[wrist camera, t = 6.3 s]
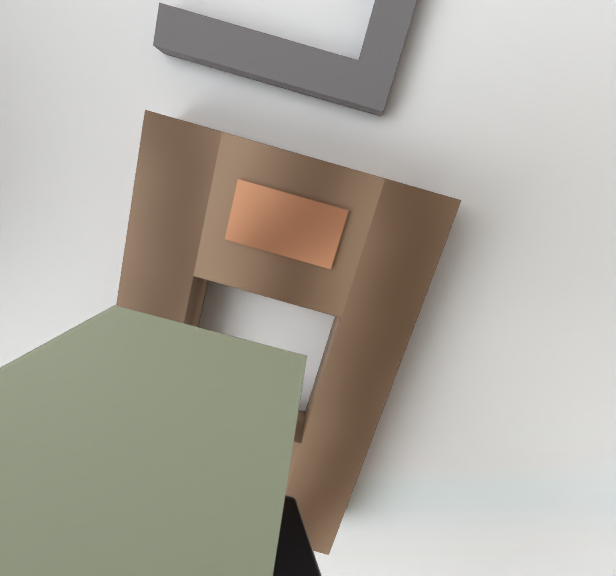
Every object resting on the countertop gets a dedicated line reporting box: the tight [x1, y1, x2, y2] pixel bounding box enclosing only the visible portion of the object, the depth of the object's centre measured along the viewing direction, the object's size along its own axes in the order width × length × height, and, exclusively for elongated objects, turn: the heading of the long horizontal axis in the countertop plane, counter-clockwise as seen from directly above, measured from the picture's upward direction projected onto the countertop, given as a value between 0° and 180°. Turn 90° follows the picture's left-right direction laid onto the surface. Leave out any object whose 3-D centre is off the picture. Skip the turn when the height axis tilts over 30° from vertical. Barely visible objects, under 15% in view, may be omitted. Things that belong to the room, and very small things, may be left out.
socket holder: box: [116, 110, 461, 555], centre depth 18 cm, size 12×18×3 cm
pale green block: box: [0, 305, 307, 576], centre depth 6 cm, size 4×4×7 cm
